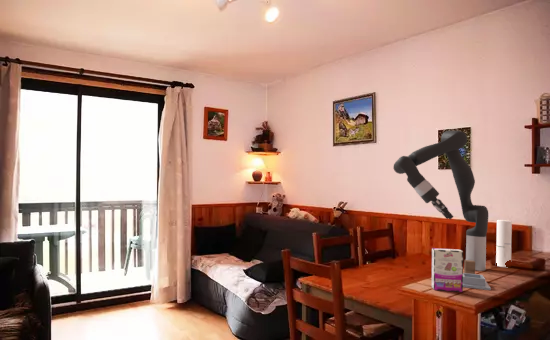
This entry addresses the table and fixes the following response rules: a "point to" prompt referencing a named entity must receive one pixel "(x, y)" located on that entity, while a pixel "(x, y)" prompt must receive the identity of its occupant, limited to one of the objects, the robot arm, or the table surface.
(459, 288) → the candy bar box
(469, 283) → the socket stand
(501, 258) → the cylindrical container
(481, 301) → the table surface
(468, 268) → the walnut block
